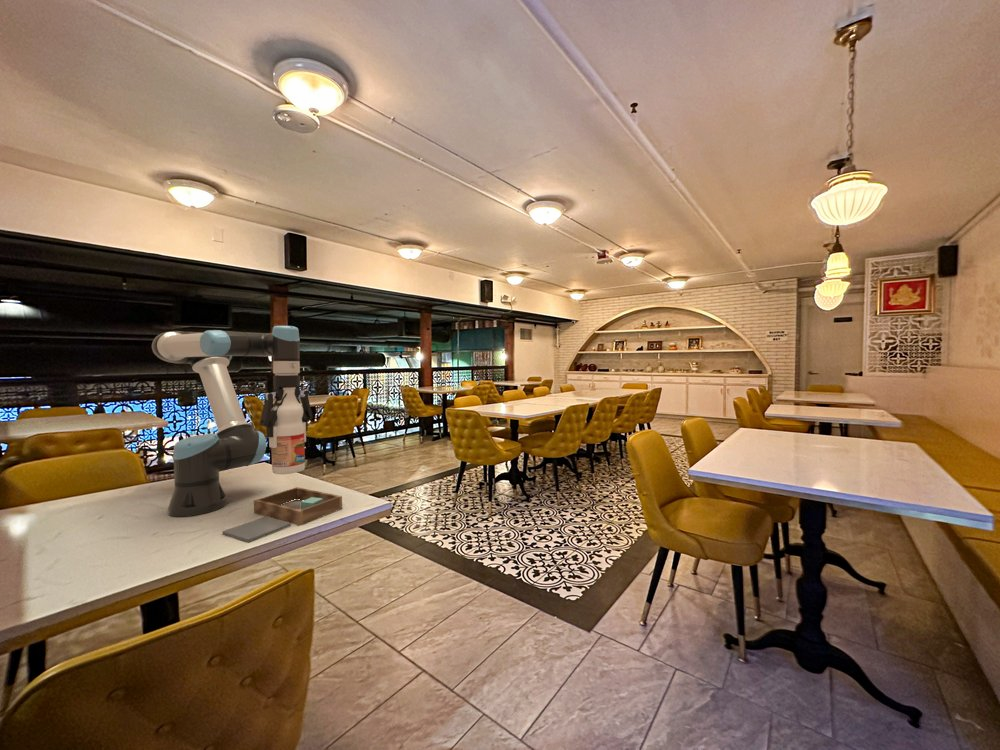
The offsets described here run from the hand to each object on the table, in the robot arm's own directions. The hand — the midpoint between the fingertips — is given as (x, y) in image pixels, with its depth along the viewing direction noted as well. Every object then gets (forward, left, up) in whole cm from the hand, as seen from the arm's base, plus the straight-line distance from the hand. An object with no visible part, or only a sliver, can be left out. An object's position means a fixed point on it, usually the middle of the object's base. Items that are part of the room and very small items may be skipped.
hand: (288, 444), depth 130 cm
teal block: (+11, 0, -21) cm, 24 cm away
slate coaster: (+7, -15, -21) cm, 27 cm away
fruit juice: (0, 0, -9) cm, 9 cm away
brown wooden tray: (+4, 0, -21) cm, 21 cm away
